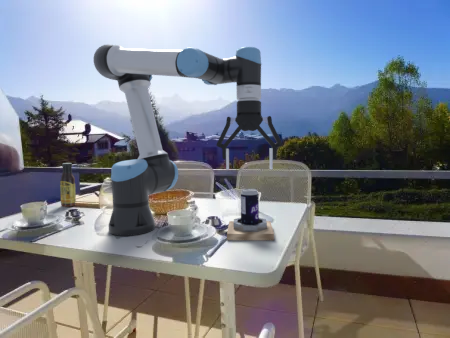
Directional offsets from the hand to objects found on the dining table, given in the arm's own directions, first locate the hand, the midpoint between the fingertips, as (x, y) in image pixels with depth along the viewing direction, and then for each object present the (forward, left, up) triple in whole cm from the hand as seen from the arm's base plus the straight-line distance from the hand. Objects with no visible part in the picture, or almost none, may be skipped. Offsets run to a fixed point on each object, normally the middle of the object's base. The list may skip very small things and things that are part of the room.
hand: (249, 169), depth 102 cm
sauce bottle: (-83, +41, -21) cm, 95 cm away
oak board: (0, 0, -21) cm, 21 cm away
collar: (0, 0, -19) cm, 19 cm away
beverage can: (0, 0, -19) cm, 19 cm away
